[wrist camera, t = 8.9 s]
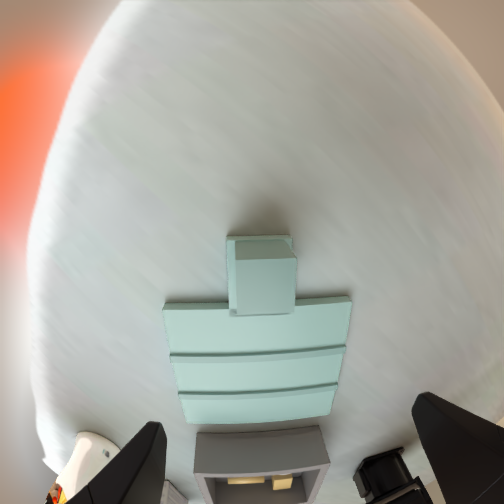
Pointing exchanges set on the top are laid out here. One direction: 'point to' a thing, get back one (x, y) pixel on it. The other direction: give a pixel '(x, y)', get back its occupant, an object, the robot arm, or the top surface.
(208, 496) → the tub
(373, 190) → the top surface
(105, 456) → the beer glass
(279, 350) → the lid
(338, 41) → the top surface
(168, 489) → the medicine box
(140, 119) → the top surface
